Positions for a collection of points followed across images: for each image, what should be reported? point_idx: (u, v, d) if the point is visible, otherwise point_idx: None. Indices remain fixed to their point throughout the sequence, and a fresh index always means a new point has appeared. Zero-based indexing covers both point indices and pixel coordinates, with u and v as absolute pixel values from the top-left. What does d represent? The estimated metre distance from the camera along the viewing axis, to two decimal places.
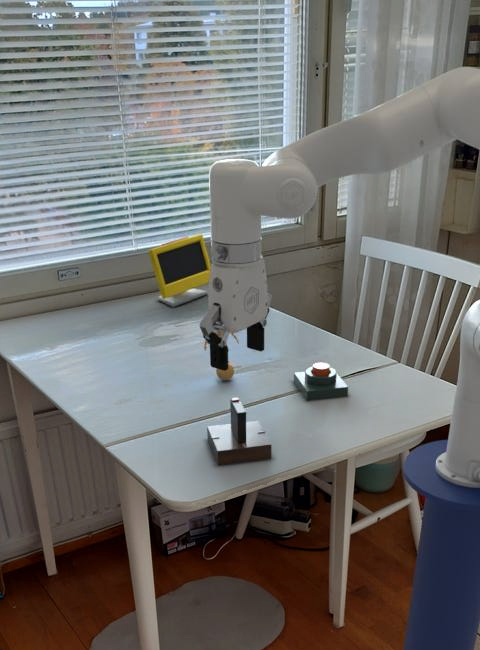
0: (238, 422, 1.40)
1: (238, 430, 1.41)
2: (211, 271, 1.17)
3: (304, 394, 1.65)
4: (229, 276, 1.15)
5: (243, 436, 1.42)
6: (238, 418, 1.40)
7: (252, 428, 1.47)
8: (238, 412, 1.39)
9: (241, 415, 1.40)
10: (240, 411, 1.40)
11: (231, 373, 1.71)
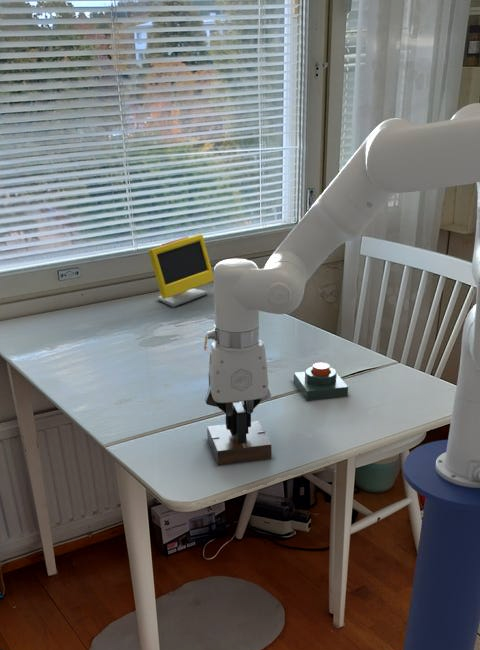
0: (238, 422, 1.40)
1: (238, 430, 1.41)
2: None
3: (304, 394, 1.65)
4: (215, 355, 1.33)
5: (243, 436, 1.42)
6: (238, 418, 1.40)
7: (252, 428, 1.47)
8: (238, 412, 1.39)
9: (241, 415, 1.40)
10: (240, 411, 1.40)
11: None
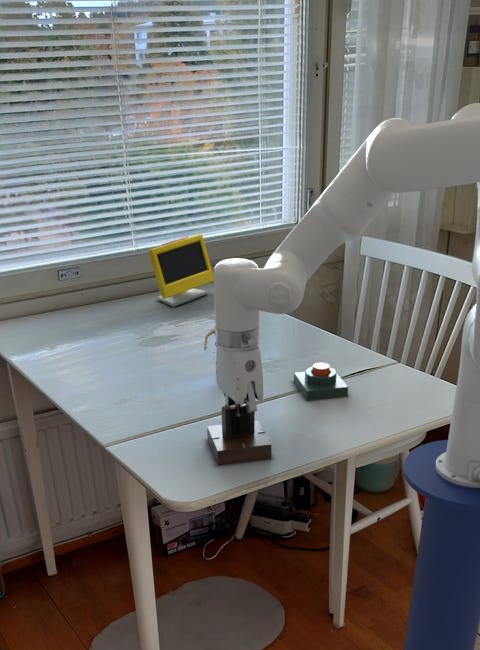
0: (254, 412, 1.43)
1: (254, 420, 1.44)
2: (241, 357, 1.32)
3: (304, 394, 1.65)
4: (259, 355, 1.33)
5: None
6: None
7: None
8: None
9: None
10: None
11: None
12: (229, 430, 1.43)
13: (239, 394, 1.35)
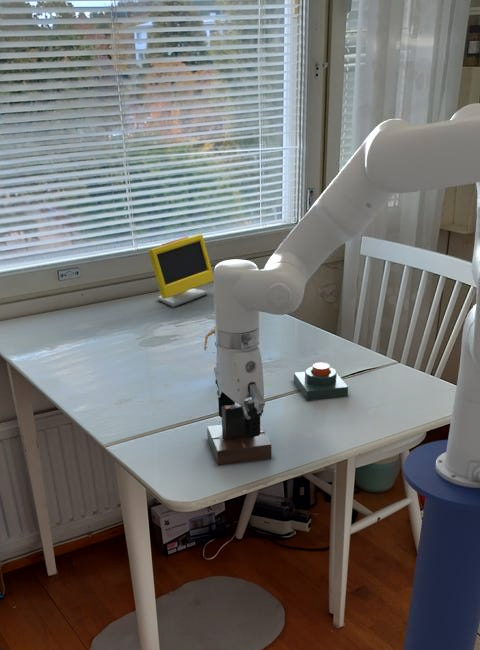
0: None
1: None
2: (241, 358, 1.32)
3: (304, 394, 1.65)
4: (259, 355, 1.33)
5: None
6: None
7: None
8: None
9: None
10: None
11: None
12: (229, 430, 1.43)
13: (240, 395, 1.35)
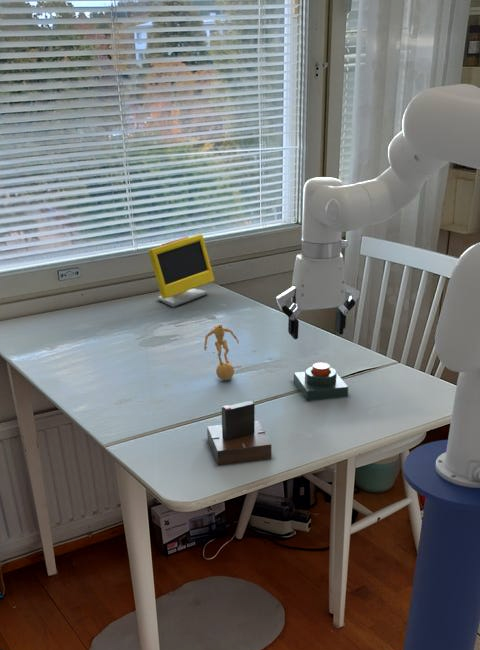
0: (254, 412, 1.43)
1: (254, 420, 1.44)
2: (343, 261, 1.51)
3: (304, 394, 1.65)
4: None
5: None
6: (254, 408, 1.43)
7: None
8: (252, 403, 1.42)
9: None
10: (250, 402, 1.43)
11: (231, 373, 1.71)
12: (229, 430, 1.43)
13: (343, 295, 1.54)
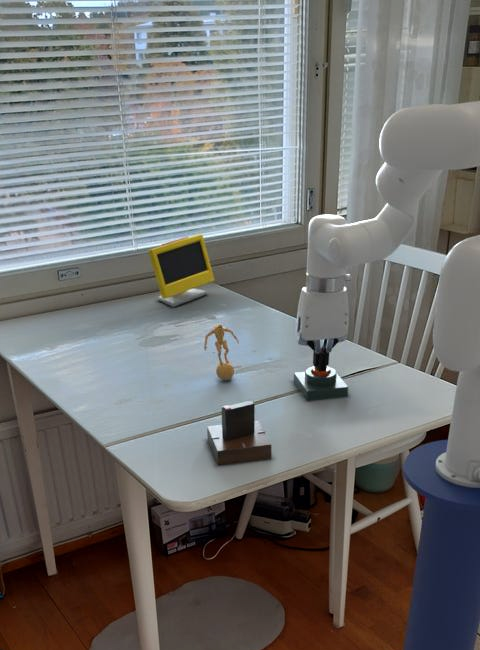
0: (254, 412, 1.43)
1: (254, 420, 1.44)
2: None
3: (304, 394, 1.65)
4: None
5: None
6: (254, 408, 1.43)
7: None
8: (252, 403, 1.42)
9: None
10: (250, 402, 1.43)
11: (231, 373, 1.71)
12: (229, 430, 1.43)
13: (346, 326, 1.60)
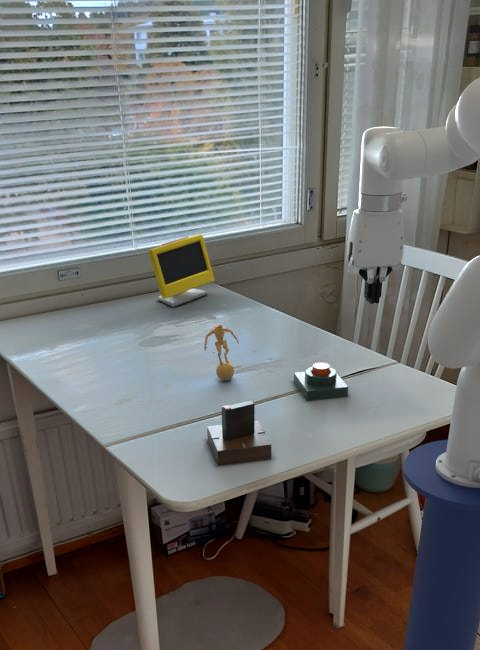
0: (254, 412, 1.43)
1: (254, 420, 1.44)
2: (402, 215, 1.45)
3: (304, 394, 1.65)
4: None
5: None
6: (254, 408, 1.43)
7: None
8: (252, 403, 1.42)
9: None
10: (250, 402, 1.43)
11: (231, 373, 1.71)
12: (229, 430, 1.43)
13: (401, 252, 1.48)
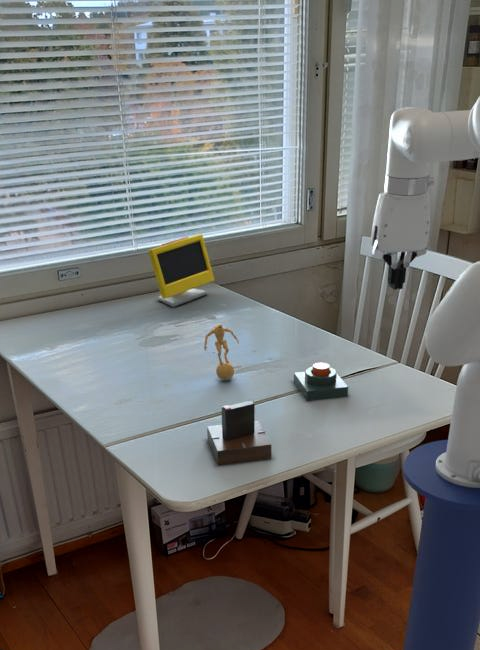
0: (254, 412, 1.43)
1: (254, 420, 1.44)
2: (429, 199, 1.42)
3: (304, 394, 1.65)
4: None
5: None
6: (254, 408, 1.43)
7: None
8: (252, 403, 1.42)
9: None
10: (250, 402, 1.43)
11: (231, 373, 1.71)
12: (229, 430, 1.43)
13: (427, 237, 1.46)
